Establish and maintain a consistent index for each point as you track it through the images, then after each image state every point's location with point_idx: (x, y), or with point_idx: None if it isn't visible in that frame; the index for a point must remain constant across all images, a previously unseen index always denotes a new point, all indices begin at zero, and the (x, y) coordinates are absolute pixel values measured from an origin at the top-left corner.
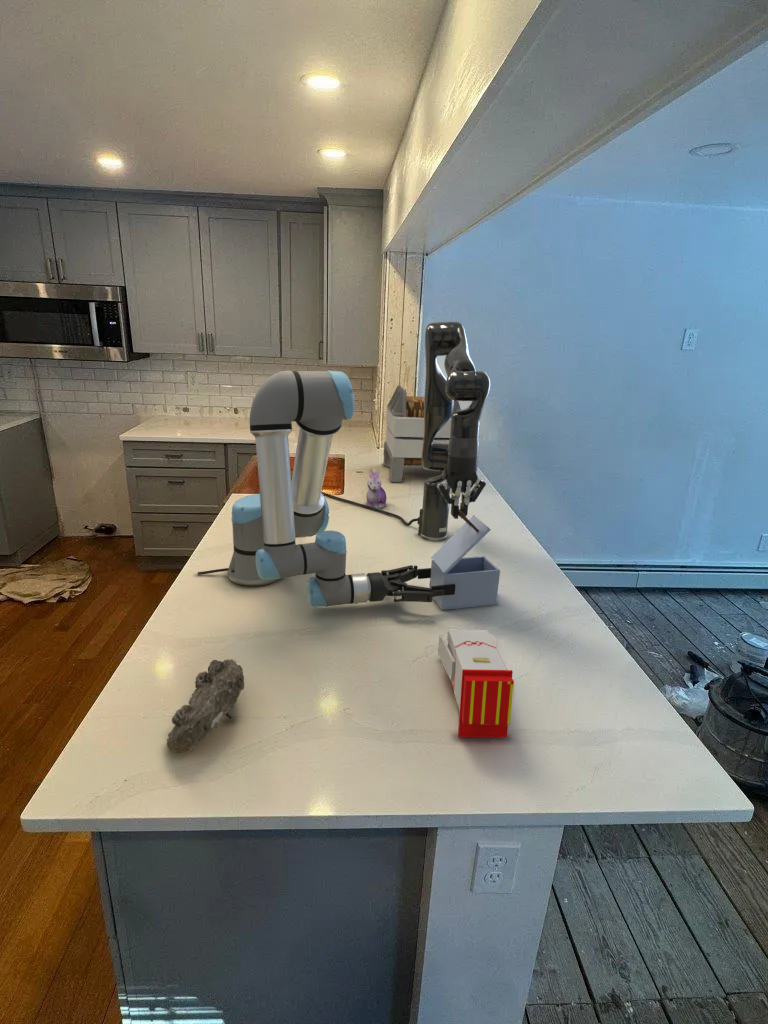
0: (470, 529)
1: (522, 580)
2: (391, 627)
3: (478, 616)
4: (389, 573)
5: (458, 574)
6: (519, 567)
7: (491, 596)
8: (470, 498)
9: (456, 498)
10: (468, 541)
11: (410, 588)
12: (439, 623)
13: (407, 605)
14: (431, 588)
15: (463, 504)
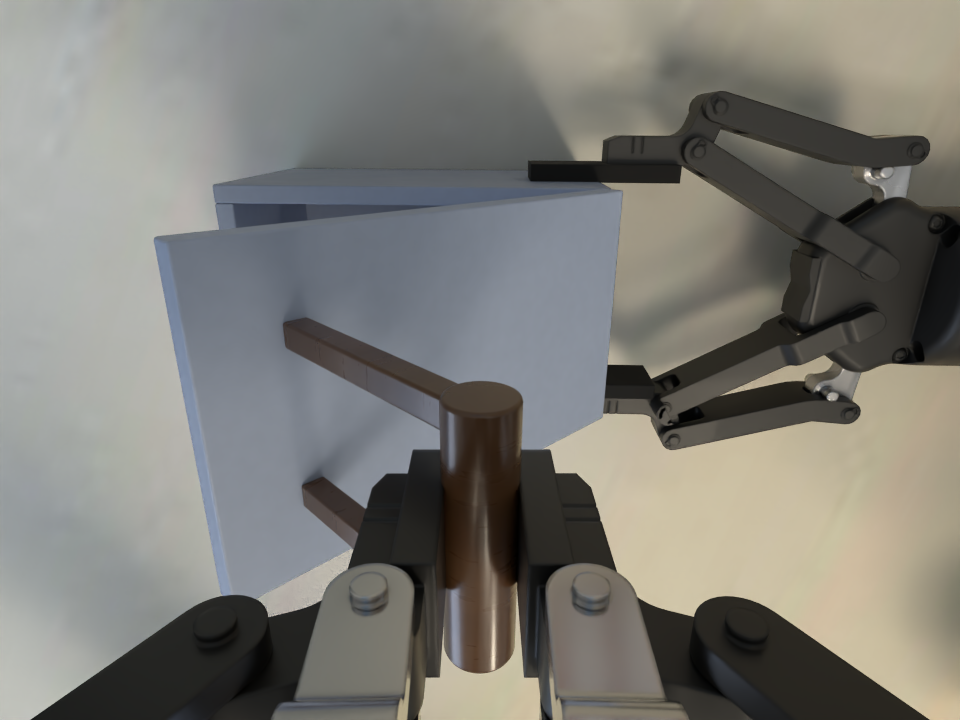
0: (338, 429)
1: (88, 362)
2: (888, 59)
3: (424, 70)
4: (816, 396)
5: (511, 186)
6: (66, 475)
7: (309, 171)
8: (270, 677)
9: (623, 683)
10: (411, 293)
11: (797, 198)
12: (643, 45)
13: (715, 248)
14: (687, 159)
15: (423, 601)
